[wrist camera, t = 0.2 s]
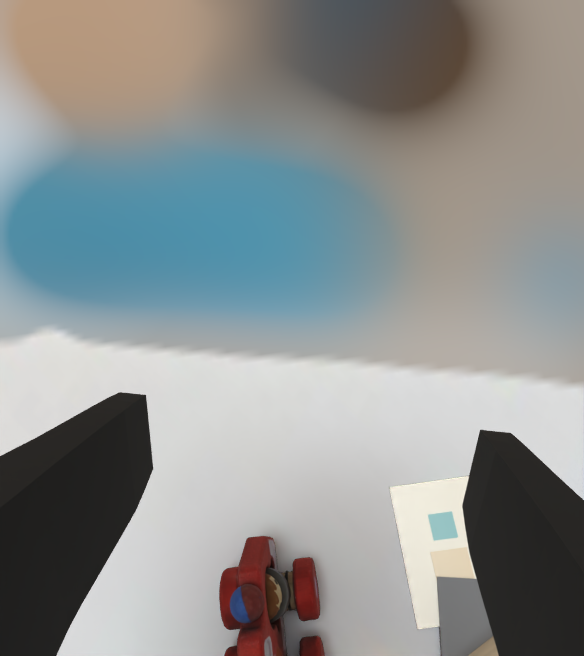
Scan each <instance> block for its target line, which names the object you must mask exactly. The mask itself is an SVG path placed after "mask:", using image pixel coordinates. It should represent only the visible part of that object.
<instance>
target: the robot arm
mask: <svg viewBox="0 0 584 656" xmlns="http://www.w3.org/2000/svg"><path fill="white" fill-rule="evenodd" d="M152 470H153V463H152V452H151V442H150V432H149V422H148V412H147V401H146V395H140V394H130V393H121V392H120V393H117V394H115V395H113V396H111V397H109V398H107V399H105V400H103V401H101V402H100V403H98V404H96V405H94V406H92V407H90V408H89V409H87V410H85V411H83V412H82V413H80V414H78V415H76V416H74V417H73V418H71V419H69V420H67V421H66V422H64V423H62V424H60V425H58V426H57V427H55V428H53V429H51V430H49V431H48V432H46V433H44V434H42V435H40V436H39V437H37V438H35V439H33V440H31V441H29V442H27V443H25V444H23V445H21V446H19V447H17V448H15V449H13V450H11V451H10V452H8V453H6V454H4V455H2V456H0V656H56V655H57V653H58V651H59V648H60V646H61V644H62V642H63V640H64V638H65V635H66V633H67V631H68V629H69V627H70V625H71V623H72V621H73V619H74V618H75V616H76V614H77V612H78V610H79V608H80V606H81V604H82V603H83V601H84V599H85V598H86V596H87V594H88V592H89V591H90V589H91V587H92V586H93V584H94V582H95V580H96V579H97V577H98V575H99V574H100V572H101V570H102V568H103V567H104V565H105V563H106V562H107V560H108V558H109V556H110V555H111V553H112V551H113V549H114V548H115V546H116V544H117V543H118V541H119V539H120V537H121V536H122V534H123V532H124V530H125V529H126V527H127V525H128V523H129V522H130V520H131V518H132V516H133V514H134V513H135V511H136V509H137V507H138V504H139V502H140V500H141V497H142V495H143V493H144V490H145V488H146V485H147V483H148V480H149V478H150V475H151V473H152ZM462 508H463V515H464V522H465V529H466V536H467V542H468V548H469V553H470V557H471V561H472V564H473V568H474V571H475V575H476V578H477V582H478V585H479V589H480V593H481V596H482V599H483V603H484V606H485V610H486V613H487V617H488V620H489V624H490V627H491V630H492V634H493V637H494V641H495V644H496V648H497V651H498V655H499V656H584V500H583V499H582V498H581V497H580V496H578V495H577V494H576V493H575V492H574V491H573V490H572V489H571V488H570V487H569V486H567V485H566V484H565V483H564V482H563V481H562V480H561V479H560V478H559V477H558V476H557V475H556V474H555V473H554V472H552V471H551V470H550V469H549V468H548V467H547V466H546V465H545V464H544V463H543V462H542V461H541V460H540V459H539V458H538V457H537V456H536V455H534V454H533V453H532V452H531V451H530V450H529V449H528V448H527V447H526V446H525V445H524V444H523V443H522V442H521V441H519V440H518V439H517V438H516V437H515V436H514V435H512V434H511V433H505V432H495V431H486V430H480V433H479V437H478V441H477V446H476V450H475V454H474V458H473V462H472V466H471V471H470V475H469V479H468V483H467V487H466V491H465V496H464V500H463V504H462Z"/></svg>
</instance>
